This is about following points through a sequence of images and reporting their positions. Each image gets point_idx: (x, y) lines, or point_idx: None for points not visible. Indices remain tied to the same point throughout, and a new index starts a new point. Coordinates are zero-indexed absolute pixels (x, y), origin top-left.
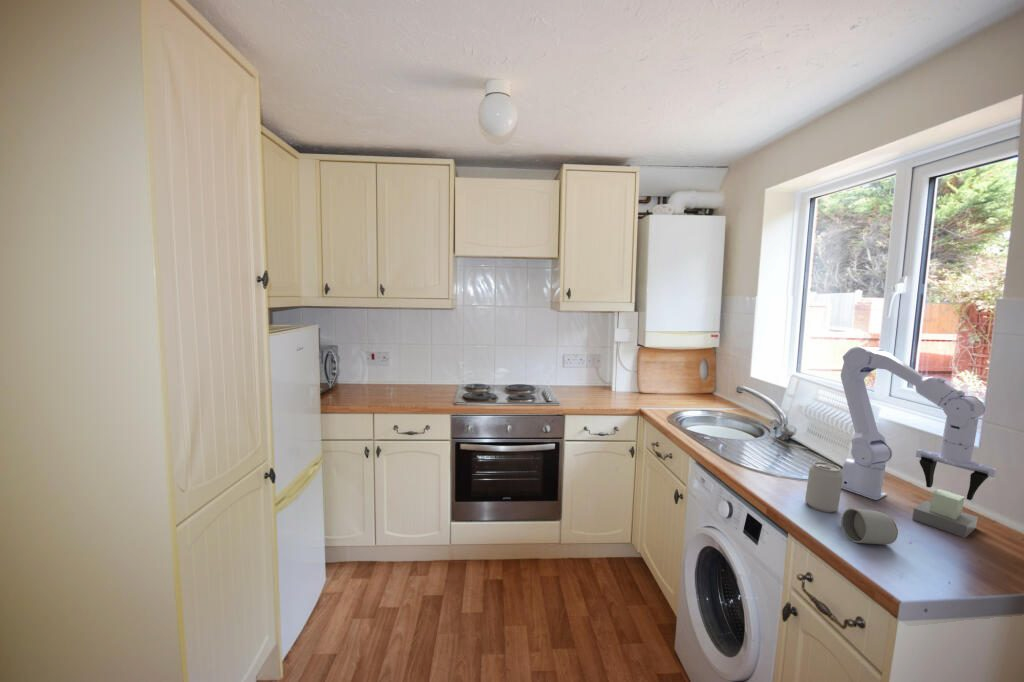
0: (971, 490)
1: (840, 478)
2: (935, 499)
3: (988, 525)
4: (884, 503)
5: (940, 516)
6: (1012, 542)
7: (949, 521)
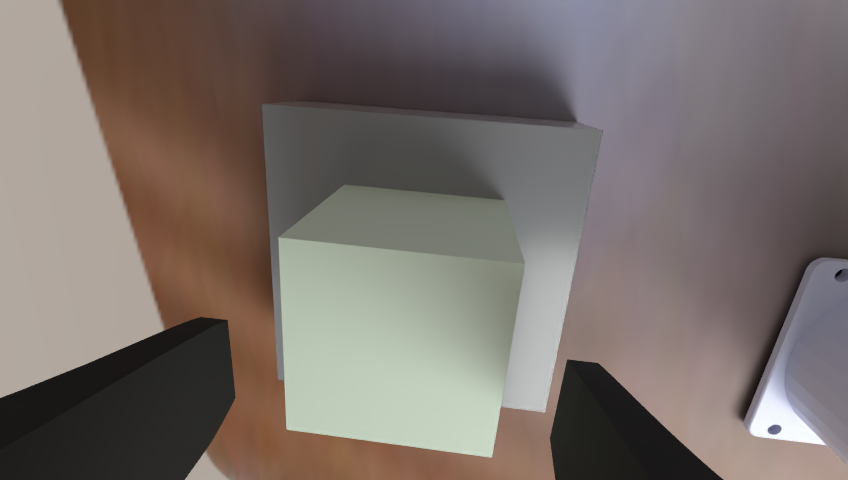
0: (87, 379)
1: None
2: (481, 233)
3: (283, 428)
4: (752, 262)
5: (424, 136)
6: (162, 292)
7: (366, 111)
